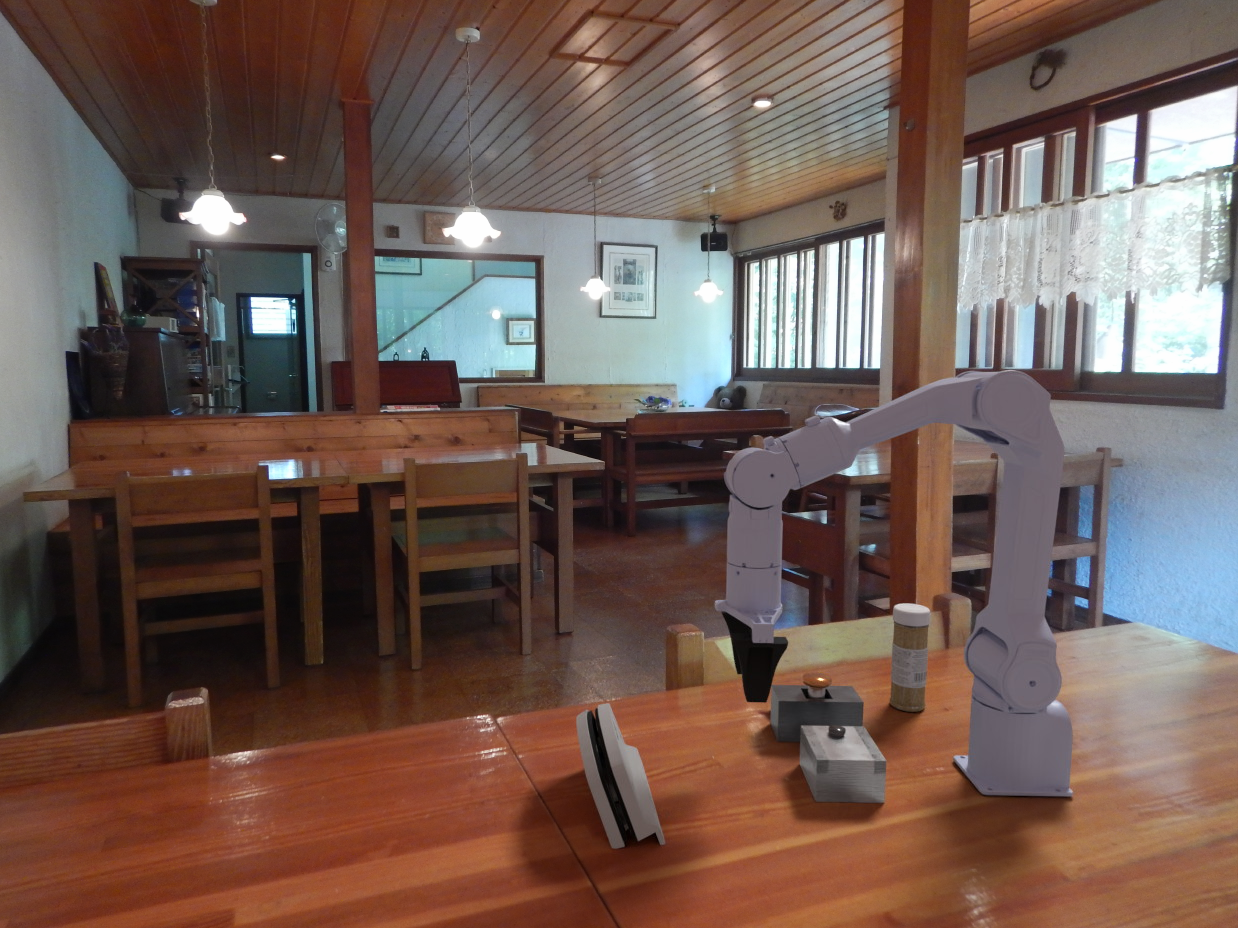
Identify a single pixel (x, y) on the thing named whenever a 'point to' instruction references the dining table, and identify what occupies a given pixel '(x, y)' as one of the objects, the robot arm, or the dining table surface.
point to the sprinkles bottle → (909, 657)
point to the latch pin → (816, 684)
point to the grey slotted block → (616, 778)
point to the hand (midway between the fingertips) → (751, 686)
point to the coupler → (812, 709)
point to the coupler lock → (842, 764)
